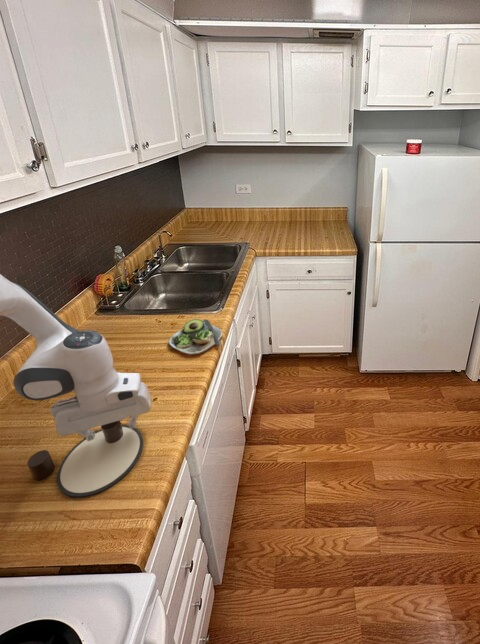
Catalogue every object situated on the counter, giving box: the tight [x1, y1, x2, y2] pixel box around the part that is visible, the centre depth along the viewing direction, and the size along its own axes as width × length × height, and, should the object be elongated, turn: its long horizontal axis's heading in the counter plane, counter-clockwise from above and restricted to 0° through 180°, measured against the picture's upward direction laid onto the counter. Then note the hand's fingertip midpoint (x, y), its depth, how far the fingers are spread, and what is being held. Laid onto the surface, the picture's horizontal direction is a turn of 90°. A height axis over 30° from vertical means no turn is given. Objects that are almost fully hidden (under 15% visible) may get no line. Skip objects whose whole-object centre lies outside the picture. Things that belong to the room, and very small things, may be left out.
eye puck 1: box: [26, 449, 56, 482], centre depth 77 cm, size 4×4×5 cm
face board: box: [56, 424, 144, 499], centre depth 81 cm, size 18×18×1 cm
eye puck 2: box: [100, 420, 123, 443], centre depth 85 cm, size 4×4×5 cm
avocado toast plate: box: [168, 318, 223, 355], centre depth 122 cm, size 19×18×5 cm
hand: (112, 432), depth 85 cm, fingers open, 8 cm apart
